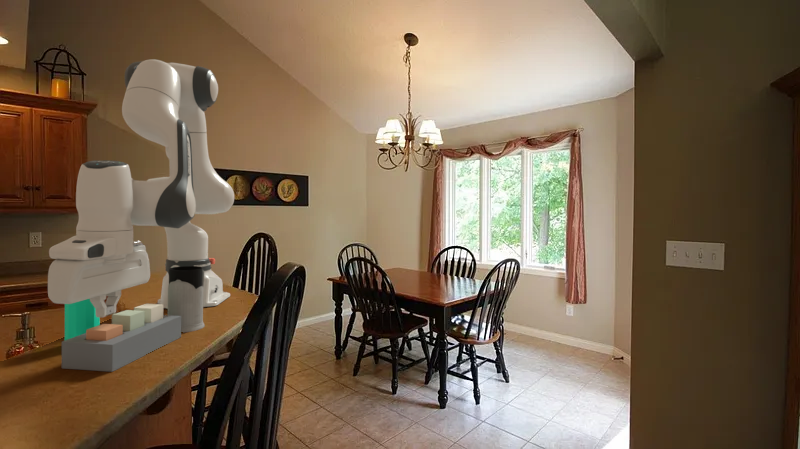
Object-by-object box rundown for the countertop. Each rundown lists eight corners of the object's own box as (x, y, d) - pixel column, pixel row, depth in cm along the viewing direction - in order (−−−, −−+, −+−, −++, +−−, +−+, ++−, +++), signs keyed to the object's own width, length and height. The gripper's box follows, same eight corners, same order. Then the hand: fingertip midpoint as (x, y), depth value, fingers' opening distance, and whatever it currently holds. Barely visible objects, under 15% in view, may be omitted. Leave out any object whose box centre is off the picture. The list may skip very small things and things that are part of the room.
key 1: (103, 353, 79) (103, 323, 79) (122, 354, 79) (122, 324, 79) (86, 360, 75) (86, 329, 75) (106, 362, 75) (106, 330, 75)
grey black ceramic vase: (157, 332, 96) (158, 270, 95) (186, 316, 110) (187, 262, 109) (195, 333, 96) (196, 271, 96) (218, 317, 110) (219, 263, 110)
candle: (80, 350, 82) (80, 293, 82) (56, 347, 83) (56, 291, 83) (106, 341, 88) (107, 288, 88) (84, 339, 89) (84, 286, 89)
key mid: (126, 337, 85) (126, 309, 85) (144, 338, 85) (144, 310, 85) (111, 343, 81) (111, 314, 81) (130, 345, 81) (130, 315, 81)
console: (140, 334, 93) (140, 313, 93) (180, 337, 93) (181, 315, 92) (61, 368, 73) (61, 341, 73) (112, 371, 73) (112, 344, 73)
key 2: (146, 329, 91) (146, 303, 91) (163, 330, 91) (163, 304, 91) (133, 334, 87) (133, 307, 87) (150, 335, 87) (151, 308, 87)
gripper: (131, 239, 87) (131, 301, 88) (39, 249, 67) (40, 330, 67) (158, 240, 87) (158, 302, 87) (74, 251, 66) (74, 333, 67)
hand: (106, 315), depth 77 cm, fingers closed
